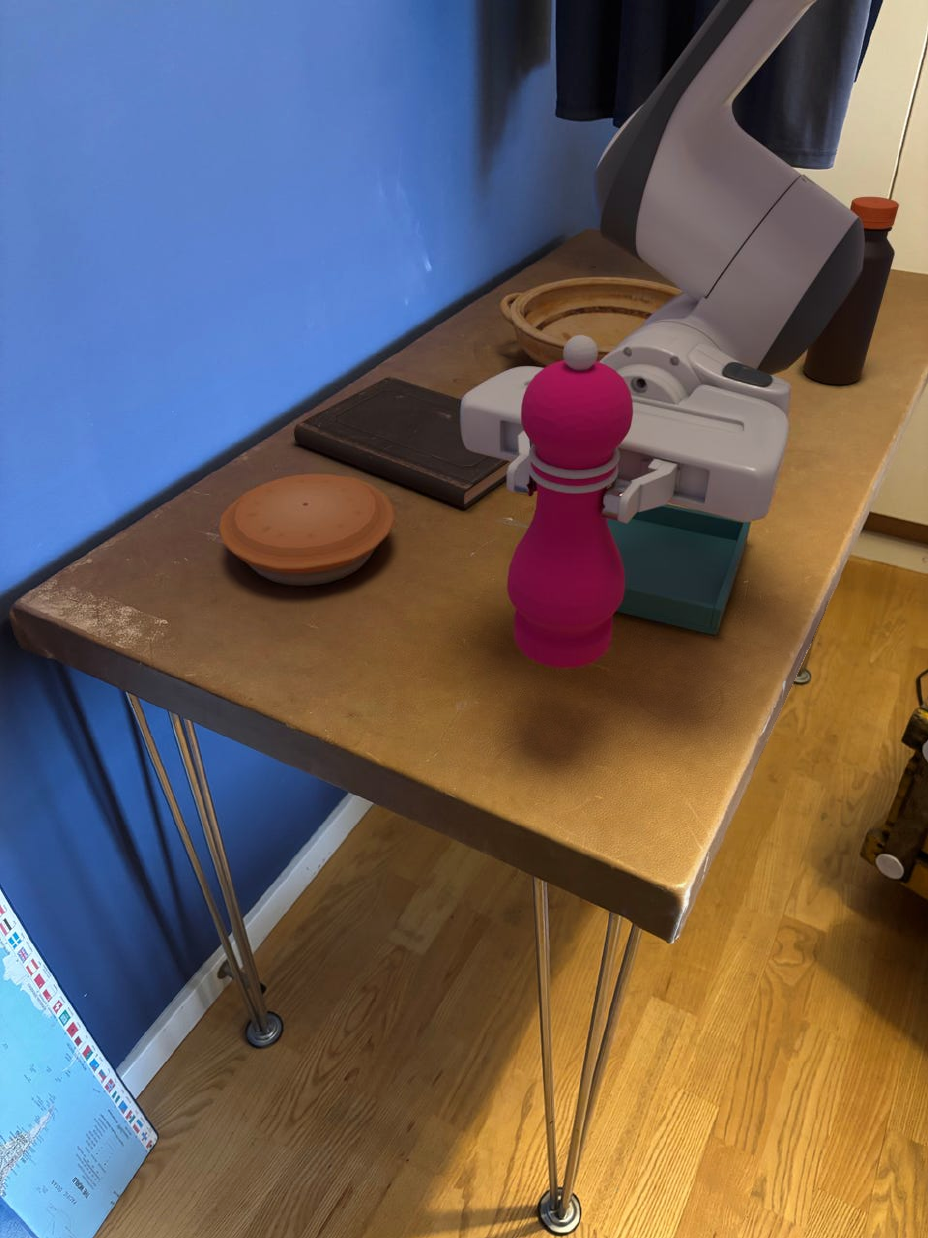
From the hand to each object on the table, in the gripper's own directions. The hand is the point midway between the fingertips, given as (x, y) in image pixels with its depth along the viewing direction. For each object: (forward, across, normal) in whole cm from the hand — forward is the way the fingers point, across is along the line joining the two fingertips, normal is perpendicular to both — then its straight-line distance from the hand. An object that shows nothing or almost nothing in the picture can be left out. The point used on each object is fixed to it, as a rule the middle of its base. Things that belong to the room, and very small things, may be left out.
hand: (565, 496), depth 51 cm
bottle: (-74, +3, +21) cm, 77 cm away
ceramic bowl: (-61, -22, +21) cm, 68 cm away
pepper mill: (-1, 0, +11) cm, 11 cm away
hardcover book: (-33, -32, +20) cm, 50 cm away
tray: (-24, -3, +20) cm, 31 cm away
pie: (-11, -30, +20) cm, 38 cm away
